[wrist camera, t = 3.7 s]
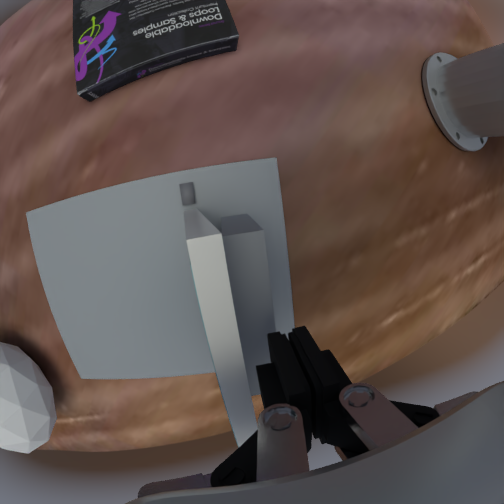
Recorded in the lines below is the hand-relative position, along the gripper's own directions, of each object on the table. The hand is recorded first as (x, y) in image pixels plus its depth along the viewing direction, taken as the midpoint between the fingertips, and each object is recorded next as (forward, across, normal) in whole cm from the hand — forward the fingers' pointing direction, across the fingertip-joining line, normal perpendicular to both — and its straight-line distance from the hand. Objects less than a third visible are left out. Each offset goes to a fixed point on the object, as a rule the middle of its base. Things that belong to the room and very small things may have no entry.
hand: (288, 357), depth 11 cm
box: (+13, +7, -28) cm, 32 cm away
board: (+13, +9, 0) cm, 15 cm away
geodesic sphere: (+13, +30, +9) cm, 34 cm away
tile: (+4, +3, 0) cm, 5 cm away
